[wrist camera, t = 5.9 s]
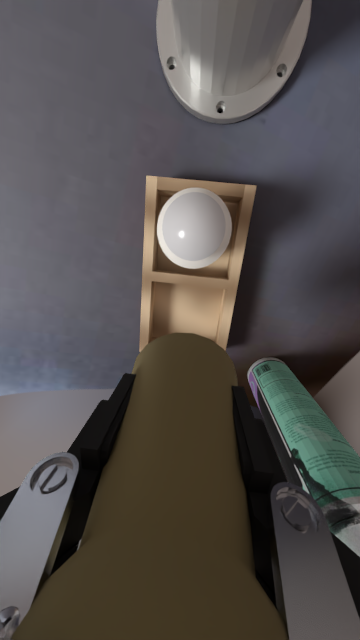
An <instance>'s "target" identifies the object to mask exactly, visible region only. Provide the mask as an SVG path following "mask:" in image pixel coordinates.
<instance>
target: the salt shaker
mask: <svg viewBox="0 0 360 640" xmlns="http://www.w3.org/2000/svg"><path fill="white" fill-rule="evenodd" d="M231 232H232V222H231V217H230V213H229V211H228V208H227V206H226V205H225V203H224V202H223V201H222V199H221V198H220V197H219V196H218V195H216V194H215V193H213V192H211V191H209V190H207V189H204V188H187V189H184V190H181V191H179V192H177V193H176V194H174V195H173V196H172V197H171V198H170V199H169V200H168V201H167V202H166V203H165V205H164V206H163V208H162V210H161V212H160V215H159V218H158V223H157V236H158V241H159V244H160V246H161V248H162V250H163V252H164V253H165V255H166V256H167V257H168V258H169V259H170V260H171V261H172V262H174V263H175V264H177V265H179V266H181V267H184V268H189V269H197V268H202V267H205V266H208V265H210V264H212V263H213V262H215V261H216V260H217V259H218V258H219V257H220V256H221V255H222V254H223V253H224V251H225V250H226V248H227V246H228V244H229V241H230V237H231Z"/></svg>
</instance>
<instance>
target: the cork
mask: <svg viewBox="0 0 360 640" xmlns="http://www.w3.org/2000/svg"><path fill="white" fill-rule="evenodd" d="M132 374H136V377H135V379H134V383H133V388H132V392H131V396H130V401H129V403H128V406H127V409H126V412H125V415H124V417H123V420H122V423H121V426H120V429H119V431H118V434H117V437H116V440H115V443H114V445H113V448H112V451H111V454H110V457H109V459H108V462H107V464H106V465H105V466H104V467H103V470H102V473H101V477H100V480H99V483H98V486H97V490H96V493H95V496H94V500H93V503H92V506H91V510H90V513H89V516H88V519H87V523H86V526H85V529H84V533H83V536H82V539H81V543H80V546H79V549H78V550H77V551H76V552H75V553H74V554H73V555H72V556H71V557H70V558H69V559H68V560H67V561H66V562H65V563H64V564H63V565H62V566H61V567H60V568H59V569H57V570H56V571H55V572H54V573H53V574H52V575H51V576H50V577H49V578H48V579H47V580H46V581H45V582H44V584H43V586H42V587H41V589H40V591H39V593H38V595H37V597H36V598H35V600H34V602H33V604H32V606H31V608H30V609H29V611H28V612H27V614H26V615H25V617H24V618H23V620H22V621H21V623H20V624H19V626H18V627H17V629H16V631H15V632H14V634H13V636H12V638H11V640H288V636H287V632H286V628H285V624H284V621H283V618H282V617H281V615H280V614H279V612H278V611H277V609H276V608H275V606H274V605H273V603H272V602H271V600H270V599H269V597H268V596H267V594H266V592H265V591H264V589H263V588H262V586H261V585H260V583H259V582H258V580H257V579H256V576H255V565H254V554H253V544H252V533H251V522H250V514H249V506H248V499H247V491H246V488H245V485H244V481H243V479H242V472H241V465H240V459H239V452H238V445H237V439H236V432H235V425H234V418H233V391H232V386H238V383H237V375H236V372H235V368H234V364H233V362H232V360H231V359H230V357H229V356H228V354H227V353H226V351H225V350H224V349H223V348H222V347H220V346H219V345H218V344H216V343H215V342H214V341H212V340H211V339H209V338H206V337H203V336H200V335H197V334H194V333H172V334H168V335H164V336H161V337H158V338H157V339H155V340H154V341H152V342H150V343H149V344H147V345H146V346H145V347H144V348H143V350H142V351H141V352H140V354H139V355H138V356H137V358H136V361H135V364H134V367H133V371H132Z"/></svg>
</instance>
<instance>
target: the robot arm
mask: <svg viewBox="0 0 360 640" xmlns="http://www.w3.org/2000/svg"><path fill="white" fill-rule="evenodd" d="M311 7H312V0H158V9H157V18H156V27H157V44H158V50H159V56H160V61H161V65H162V69H163V73H164V76H165V78H166V80H167V83H168V85H169V88H170V89H171V91H172V93H173V94H174V96H175V97H176V99H177V100H178V101H179V103H180V104H181V105H182V106H183V107H184V108H185V109H186V110H187V111H188V112H190V113H191V114H193V115H194V116H196V117H197V118H199V119H202V120H204V121H207V122H210V123H217V124H228V123H235V122H238V121H241V120H244V119H247V118H249V117H251V116H252V115H254V114H256V113H258V112H259V111H261V110H262V109H263V108H264V107H265V106H266V105H268V104H269V103H270V102H271V101H272V100H273V99H274V98H275V96H276V95H277V94H278V93H279V92H280V90H281V89H282V88H283V86H284V85H285V83H286V81H287V80H288V78H289V76H290V75H291V73H292V71H293V69H294V67H295V65H296V63H297V61H298V59H299V57H300V54H301V52H302V49H303V46H304V43H305V40H306V37H307V33H308V28H309V23H310V19H311ZM171 69H173V70H171ZM278 76H280V77H278ZM218 111H222V113H218ZM135 377H136V374H127V373H125V374H124V375H123V377H122V379H121V380H120V382H119V384H118V385H117V387H116V389H115V390H114V392H113V394H112V395H111V397H110V398H109V400H102V401H100V403H99V404H98V405H97V407H96V409H95V410H94V412H93V413H92V415H91V416H90V418H89V419H88V421H87V423H86V424H85V425H84V427H83V428H82V430H81V432H80V433H79V435H78V436H77V438H76V439H75V441H74V442H73V444H72V445H71V447H70V448H69V450H68V451H67V453H66V452H61V453H55V454H52V455H50V456H47V457H46V458H44V459H42V460H41V461H40V462H38V463H37V464H36V465H35V466H34V467H33V468H32V469H31V470H30V472H29V473H28V474H27V476H26V478H25V479H24V481H23V483H22V485H21V486H20V487H18V488H16V489H14V490H13V491H11V492H9V493H7V494H5V495H3V496H1V497H0V640H11V638H12V636H13V634H14V632H15V631H16V629H17V627H18V626H19V624H20V623H21V621H22V620H23V618H24V617H25V615H26V614H27V612H28V611H29V609H30V608H31V606H32V604H33V602H34V600H35V598H36V597H37V595H38V593H39V591H40V589H41V587H42V586H43V584H44V582H45V581H46V580H47V579H48V578H49V577H50V576H51V575H52V574H53V573H54V572H55V571H56V570H57V569H59V568H60V567H61V566H62V565H63V564H64V563H65V562H66V561H67V560H68V559H69V558H70V557H71V556H72V555H73V554H74V553H75V552H76V551H77V550H78V549H79V546H80V543H81V539H82V536H83V533H84V529H85V526H86V523H87V519H88V516H89V513H90V510H91V506H92V503H93V500H94V496H95V493H96V490H97V486H98V483H99V480H100V477H101V473H102V470H103V467H104V466H105V465H106V464H107V462H108V459H109V457H110V454H111V451H112V448H113V445H114V443H115V440H116V437H117V434H118V431H119V429H120V426H121V423H122V420H123V417H124V415H125V412H126V409H127V406H128V403H129V401H130V396H131V392H132V388H133V383H134V379H135ZM232 391H233V418H234V425H235V432H236V439H237V445H238V452H239V459H240V465H241V472H242V479H243V481H244V485H245V488H246V491H247V499H248V506H249V514H250V522H251V533H252V544H253V554H254V565H255V576H256V579H257V580H258V582H259V583H260V585H261V586H262V588H263V589H264V591H265V592H266V594H267V596H268V597H269V599H270V600H271V602H272V603H273V605H274V606H275V608H276V609H277V611H278V612H279V614H280V615H281V617H282V618H283V621H284V624H285V628H286V632H287V636H288V640H360V557H359V556H358V555H357V554H356V553H355V552H354V551H352V550H351V549H350V548H349V547H348V546H347V545H346V544H344V543H343V542H342V541H341V540H340V539H339V538H337V537H336V536H335V535H334V534H333V533H332V532H331V531H330V530H329V527H328V524H327V521H326V518H325V516H324V514H323V511H322V509H321V508H320V506H319V505H318V503H317V502H316V501H315V499H314V498H313V497H312V496H311V495H310V494H309V493H308V492H306V491H305V490H303V489H302V488H301V487H299V486H297V485H294V484H292V483H287V480H286V478H285V476H284V473H283V471H282V468H281V466H280V463H279V461H278V458H277V455H276V453H275V450H274V448H273V445H272V443H271V440H270V438H269V435H268V433H267V430H266V427H265V425H264V423H263V421H262V420H261V419H255V418H254V415H253V413H252V410H251V407H250V404H249V401H248V398H247V395H246V393H245V390H244V387H240V386H232Z"/></svg>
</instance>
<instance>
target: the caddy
mask: <svg viewBox="0 0 360 640" xmlns="http://www.w3.org/2000/svg"><path fill="white" fill-rule="evenodd" d="M187 188H204V189H207V190H209V191H211V192H213V193H215V194H216V195H218V196H219V197H220V198H221V199H222V201H223V202H224V203H225V205H226V206H227V208H228V211H229V213H230V217H231V222H232V232H231V237H230V241H229V244H228V246H227V248H226V250H225V251H224V253H223V254H222V255H221V256H220V257H219V258H218V259H217V260H216V261H215V262H213V263H212V264H210V265H208V266H205V267H202V268H197V269H189V268H184V267H181V266H179V265H177V264H175V263H174V262H172V261H171V260H170V259H169V258H168V257H167V256H166V255H165V253H164V252H163V250H162V248H161V246H160V244H159V241H158V236H157V223H158V218H159V215H160V212H161V210H162V208H163V206H164V205H165V203H166V202H167V201H168V200H169V199H170V198H171V197H172V196H173V195H174V194H176V193H177V192H179V191H181V190H184V189H187ZM255 192H256V186H255V185H244V184H233V183H222V182H211V181H200V180H189V179H177V178H166V177H155V176H146V201H145V225H144V250H143V275H142V299H141V324H140V349H139V352H141V351H142V350H143V348H144V347H145V346H146V345H147V344H149V343H150V342H152V341H154V340H155V339H157V338H158V337H161V336H164V335H168V334H172V333H194V334H197V335H200V336H203V337H206V338H209V339H211V340H212V341H214V342H215V343H216V344H218V345H219V346H220V347H222V348H223V349H224V350H225V351H226V346H227V340H228V335H229V330H230V324H231V319H232V314H233V308H234V303H235V298H236V293H237V287H238V282H239V277H240V271H241V266H242V261H243V255H244V250H245V245H246V239H247V234H248V229H249V224H250V218H251V213H252V208H253V202H254V197H255Z"/></svg>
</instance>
